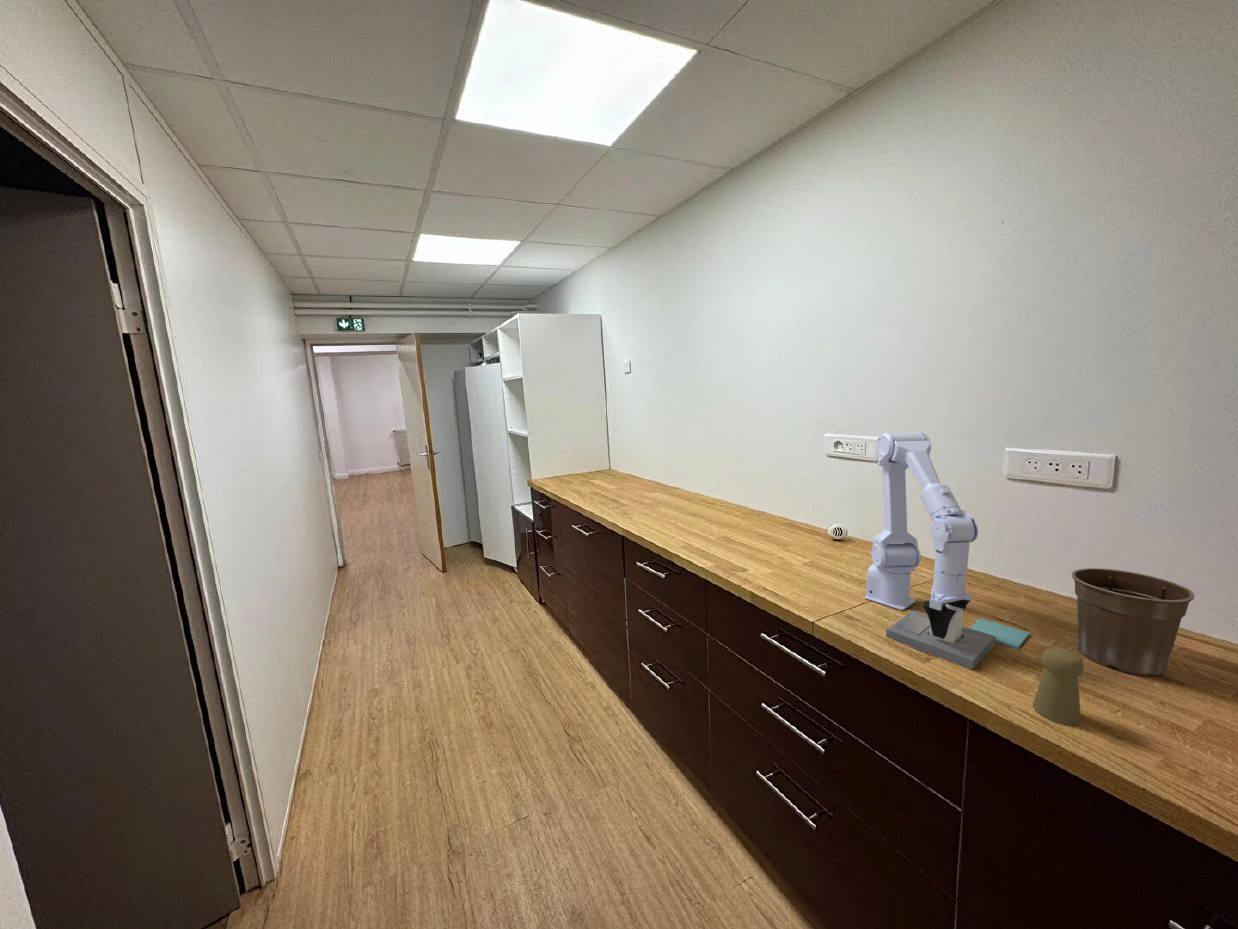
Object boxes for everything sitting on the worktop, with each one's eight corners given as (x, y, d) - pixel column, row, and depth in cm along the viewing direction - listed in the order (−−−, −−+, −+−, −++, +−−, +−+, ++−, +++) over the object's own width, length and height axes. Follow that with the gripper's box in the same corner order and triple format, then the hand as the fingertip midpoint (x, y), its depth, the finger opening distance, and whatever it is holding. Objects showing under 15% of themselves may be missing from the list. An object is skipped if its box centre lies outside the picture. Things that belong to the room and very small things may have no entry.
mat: (966, 632, 106) (966, 630, 106) (980, 620, 111) (980, 618, 111) (1017, 649, 99) (1017, 647, 98) (1029, 635, 104) (1029, 632, 104)
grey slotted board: (886, 638, 105) (886, 628, 104) (912, 618, 113) (913, 609, 113) (972, 670, 92) (973, 659, 92) (994, 645, 100) (995, 635, 100)
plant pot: (1042, 638, 102) (1050, 567, 100) (1118, 637, 102) (1128, 566, 99) (1118, 684, 86) (1129, 601, 84) (1209, 683, 86) (1224, 599, 83)
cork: (1086, 730, 75) (1094, 667, 74) (1036, 718, 78) (1043, 657, 77) (1075, 708, 80) (1082, 649, 79) (1029, 697, 84) (1035, 640, 82)
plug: (928, 642, 102) (931, 608, 101) (936, 636, 105) (939, 602, 104) (952, 651, 99) (955, 615, 97) (960, 644, 101) (963, 609, 100)
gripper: (960, 585, 92) (955, 650, 94) (984, 567, 100) (979, 626, 102) (920, 575, 97) (916, 636, 99) (946, 558, 106) (942, 615, 108)
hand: (945, 630), depth 101 cm, fingers open, 7 cm apart
